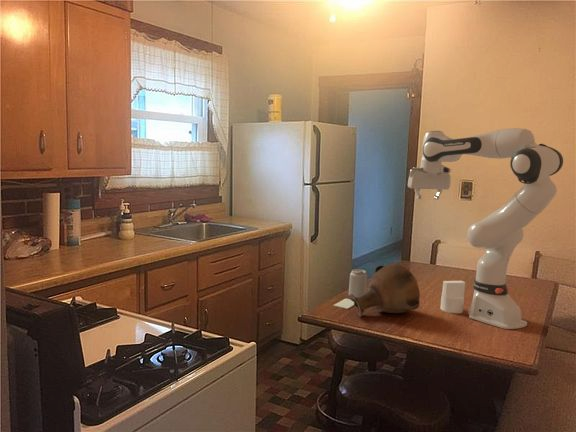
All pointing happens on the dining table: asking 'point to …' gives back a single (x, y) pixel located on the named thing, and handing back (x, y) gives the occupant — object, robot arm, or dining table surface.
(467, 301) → the dining table surface
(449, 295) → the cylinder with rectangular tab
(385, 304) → the jug
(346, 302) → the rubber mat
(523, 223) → the robot arm
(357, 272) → the can
